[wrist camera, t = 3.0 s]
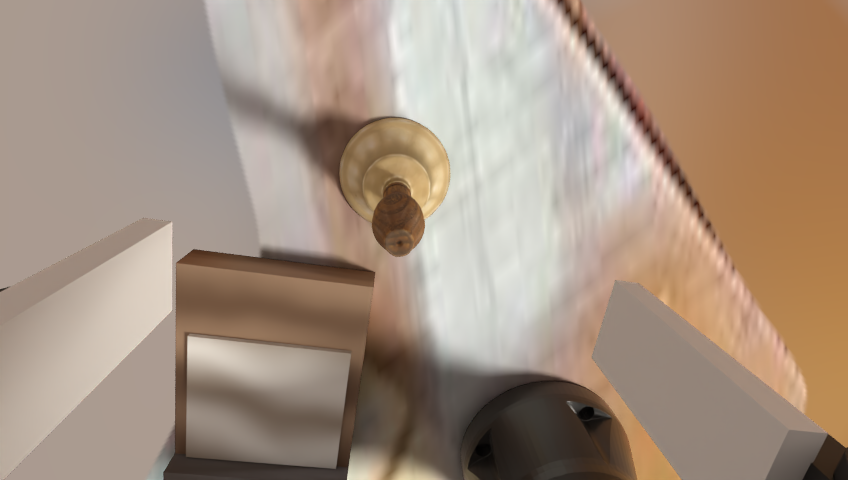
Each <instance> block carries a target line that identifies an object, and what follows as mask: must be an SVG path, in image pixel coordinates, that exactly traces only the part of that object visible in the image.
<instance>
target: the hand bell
mask: <svg viewBox="0 0 848 480" xmlns="http://www.w3.org/2000/svg"><path fill="white" fill-rule="evenodd" d="M339 177H340V184H341V188H342V191H343V193H344V196H345V198H346V200H347V201H348V203H349V204H350V206H351V207H352V208H353V209H354V210H355V212H357V213H358V214H359V215H360V216H361V217H363V218H364V219H365V220H367V221H369V222H371V223H372V229H373V233H374V236H375V238H376V240H377V241H378V243H379V244H380V245H381V246H382V247H383V248H384V249H386V250H387V251H388V252H389V253H390V254H392V255H393V256H396V257H401V256H405V255H407V254H409V253H410V251H411V250H412V249H413V248H415V246H416V245H417V244H418V243H419V242H420V240H421V238H422V236H423V233H424V228H425V221H424V220H425V219H426V218H428V217H429V216H430V215H432V214H433V213H434V212H435V210H436V209H437V208H438V207H439V206H440V204H441V203H442V201H443V199H444V198H445V196H446V193H447V191H448V187H449V183H450V164H449V160H448V156H447V153H446V151H445V149H444V147H443V145H442V144H441V142H440V141H439V139H438V138H437V137H436V136H435V135H434V133H432V132H431V131H430V130H429V129H427V128H426V127H424V126H423V125H421V124H419V123H417V122H414V121H412V120H408V119H403V118H386V119H381V120H378V121H375V122H373V123H370V124H368V125H366V126H365V127H363V128H362V129H360V130H359V131H358V132H357V133H356V134H355V135H354V136H353V137H352V138H351V140H350V141H349V142H348V144H347V146H346V148H345V150H344V152H343V154H342V157H341V162H340V170H339Z"/></svg>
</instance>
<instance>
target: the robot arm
mask: <svg viewBox="0 0 848 480" xmlns="http://www.w3.org/2000/svg"><path fill="white" fill-rule="evenodd" d="M171 311H172V222H171V221H163V220H155V219H148V218H142V219H140V220H139V221H137V222H135V223H133V224H131V225H129V226H127V227H125V228H123V229H121V230H119V231H117V232H115V233H114V234H112V235H110V236H108V237H106V238H104V239H102V240H100V241H98V242H96V243H94V244H92V245H90V246H88V247H86V248H85V249H82V250H81V251H79V252H77V253H75V254H73V255H71V256H69V257H67V258H65V259H63V260H61V261H59V262H57V263H56V264H53V265H52V266H50V267H48V268H46V269H44V270H42V271H40V272H38V273H36V274H34V275H32V276H30V277H28V278H27V279H24V280H23V281H21V282H19V283H17V284H15V285H13V286H11V287H7V288H3V289H0V480H4V479H5V478H6V477H7V476H8V475H9V474H10V473H11V472H12V471H13V470H14V469H15V468H16V467H17V466H18V465H19V464H20V463H21V462H22V461H23V460H24V459H25V458H26V457H27V456H28V455H29V454H30V453H31V452H32V451H33V450H34V449H35V448H36V447H37V446H38V445H39V444H40V443H41V442H42V441H43V440H44V439H45V438H46V437H47V436H48V435H49V434H50V433H51V432H52V431H53V430H54V429H55V428H56V427H57V426H58V425H59V424H60V423H61V422H62V421H63V420H64V419H65V418H66V417H67V416H68V415H69V414H70V413H71V412H72V411H73V410H74V409H75V408H76V407H77V406H78V405H79V404H80V403H81V402H82V401H83V400H84V399H85V398H86V397H87V396H88V395H89V394H90V393H91V392H92V391H93V390H94V389H95V388H96V387H97V386H98V385H99V383H101V382H102V381H103V380H104V379H105V378H106V376H108V375H109V374H110V373H111V372H112V371H113V370H114V369H115V368H116V367H117V365H118V364H120V362H122V361H123V360H124V358H126V357H127V356H128V355H129V354H130V353H131V351H133V349H134V348H136V347H137V346H138V344H140V343H141V342H142V340H144V339H145V338H146V336H147V335H148V334H149V333H150V332H151V331H152V330H153V329H154V328H155V327H156V326H157V325H158V324H159V323H160V322H161V321H162V320H163V319H164V318H165V317H166V316H167V315H168V314H169V313H170V312H171ZM592 359H593V360H594V361H595V363H596V364H597V365H598V367H599V368H600V369H601V371H602V372H603V374H604V375H605V376H606V378H607V379H608V380H609V382H610V383H611V384H612V386H613V387H614V388H615V390H616V391H617V392H618V394H619V395H620V397H621V398H622V399H623V401H624V402H625V403H626V405H627V406H628V407H629V409H630V410H631V411H632V413H633V414H634V416H635V417H636V418H637V420H638V421H639V422H640V424H641V425H642V426H643V428H644V429H645V430H646V432H647V433H648V434H649V436H650V437H651V439H652V440H653V441H654V443H655V444H656V445H657V447H658V448H659V449H660V451H661V452H662V453H663V455H664V456H665V457H666V459H667V460H668V462H669V463H670V464H671V466H672V467H673V468H674V470H675V471H676V472H677V474H678V475H679V476H680V478H681V479H682V480H848V448H845V447H844V446H843V445H841V444H840V443H839V442H837V441H836V440H835V439H834V438H832V437H831V436H830V435H829V434H828V433H827V432H826V431H824V430H823V429H822V428H821V427H819V426H818V425H817V424H815V423H814V422H813V421H812V420H810V419H809V418H808V417H807V416H806V415H804V414H803V413H802V412H800V411H799V410H798V409H797V408H795V407H794V406H793V405H792V404H790V403H789V402H788V401H787V400H785V399H784V398H783V397H782V396H780V395H779V394H778V393H776V392H775V391H774V390H773V389H771V388H770V387H769V386H768V385H766V384H765V383H764V382H763V381H761V380H760V379H759V378H758V377H756V376H755V375H754V374H752V373H751V372H750V371H749V370H747V369H746V368H745V367H744V366H742V365H741V364H740V363H739V362H737V361H736V360H735V359H734V358H732V357H731V356H730V355H729V354H727V353H726V352H725V351H723V350H722V349H721V348H720V347H718V346H717V345H716V344H715V343H713V342H712V341H711V340H710V339H708V338H707V337H706V336H705V335H703V334H702V333H701V332H699V331H698V330H697V329H696V328H694V327H693V326H692V325H691V324H689V323H688V322H687V321H686V320H684V319H683V318H682V317H681V316H679V315H678V314H677V313H675V312H674V311H673V310H672V309H670V308H669V307H668V306H667V305H665V304H664V303H663V302H662V301H660V300H659V299H658V298H657V297H655V296H654V295H653V294H652V293H650V292H649V291H648V290H646V289H645V288H644V287H643V286H641V285H640V284H639V283H633V282H626V281H618V280H615V283H614V286H613V290H612V293H611V296H610V299H609V303H608V306H607V309H606V312H605V316H604V319H603V322H602V325H601V328H600V332H599V335H598V338H597V341H596V345H595V348H594V351H593V354H592ZM461 465H462V471H463V476H464V480H637V476H636V472H635V467H634V463H633V458H632V454H631V449H630V445H629V441H628V438H627V435H626V433H625V431H624V428H623V427H622V425H621V423H620V422H619V420H618V419H617V417H616V416H615V414H614V413H613V411H612V410H611V409H610V407H609V406H608V405H607V404H606V402H605V401H604V400H602V399H601V398H600V397H599V396H598V395H596V394H595V393H593V392H591V391H590V390H588V389H586V388H584V387H581V386H578V385H575V384H571V383H566V382H557V381H545V382H535V383H530V384H526V385H522V386H519V387H516V388H514V389H511V390H509V391H507V392H505V393H503V394H501V395H500V396H498V397H497V398H495V399H494V400H492V401H491V402H490V403H488V404H487V405H486V406H485V407H484V408H483V409H482V410H481V411H480V412H479V413H478V414H477V415H476V416H475V418H474V419H473V421H472V422H471V424H470V425H469V427H468V429H467V431H466V433H465V436H464V438H463V442H462V447H461Z"/></svg>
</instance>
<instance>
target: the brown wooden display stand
mask: <svg viewBox="0 0 848 480" xmlns="http://www.w3.org/2000/svg"><path fill="white" fill-rule="evenodd" d="M374 278H375V272H368V271H361V270H353V269H345V268H337V267H329V266H321V265H313V264H305V263H297V262H289V261H282V260H274V259H266V258H258V257H250V256H242V255H234V254H226V253H218V252H210V251H202V250H192V251H191V252H190V253H188V254H187V255H186V256H185V257H184V258H182V259H181V260H179V261H178V262H177V263H176V387H175V388H176V389H175V390H176V391H175V394H176V395H175V401H176V403H175V407H176V408H175V454H174V456H173V458H172V459H171V461H170V463H169V464H168V466H167V468H166V469H165V471H164V480H347V474H348V466H349V459H350V452H351V444H352V437H353V430H354V423H355V416H356V409H357V402H358V395H359V388H360V380H361V373H362V366H363V359H364V352H365V345H366V338H367V331H368V324H369V316H370V309H371V302H372V295H373V288H374Z"/></svg>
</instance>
